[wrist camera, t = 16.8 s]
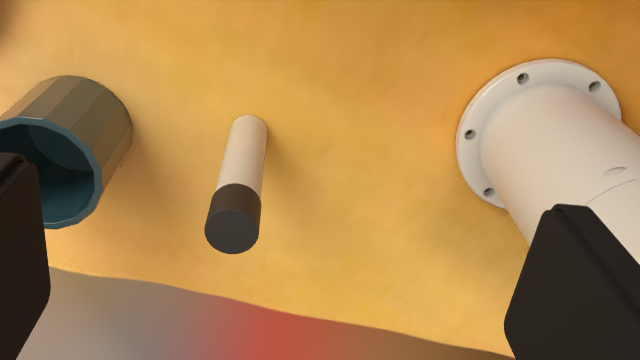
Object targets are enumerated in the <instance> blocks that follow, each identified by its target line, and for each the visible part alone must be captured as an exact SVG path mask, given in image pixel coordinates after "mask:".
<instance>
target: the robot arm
mask: <svg viewBox="0 0 640 360" xmlns="http://www.w3.org/2000/svg"><path fill="white" fill-rule="evenodd" d="M520 74H522V76H521V77H520V78H518V76H519V75H520ZM591 83H592V84H591ZM590 84H591V85H590ZM468 130H470V132H468V133H466V132H467V131H468ZM455 151H456V160H457V163H458V166H459V169H460V172H461V174H462V176H463V177H464V179H465V181H466V183H467V184H468V185H469V187H470V188H471V189H472V190H473V192H474V193H475V194H476V195H478V196H479V197H480V198H481V199H483V200H484V201H486V202H488V203H490V204H492V205H494V206H496V207H499V208H503V209H506V210H507V211H508V213H509V214H510V216H511V218H512V219H513V221H514V222H515V224H516V226H517V227H518V229H519V231H520V232H521V234H522V235H523V237H524V239H525V240H526V242H527V244H528V245H529V247H530V248H529V251H528V254H527V257H526V260H525V263H524V265H523V268H522V271H521V274H520V277H519V279H518V282H517V285H516V288H515V291H514V294H513V296H512V299H511V302H510V305H509V308H508V310H507V313H506V316H505V320H504V331H505V335H506V338H507V340H508V343H509V345H510V347H511V349H512V352H513V354H514V356H515V358H516V360H640V136H639V135H638V134H636V133H635V132H634V131H633V130H631V129H630V128H629V127H628V126H626V125H625V124H624V123H622V116H621V111H620V105H619V102H618V100H617V98H616V95H615V93H614V91H613V90H612V89H611V87H610V86H609V85H608V83H607V82H606V81H605V80H604V79H603V78H601V77H600V76H599V75H598V74H596V73H595V72H594V71H592V70H590V69H589V68H587V67H585V66H584V65H581V64H578V63H575V62H572V61H569V60H562V59H553V58H552V59H539V60H534V61H530V62H526V63H522V64H519V65H517V66H515V67H512V68H510V69H508V70H506V71H504V72H502V73H501V74H499V75H498V76H496V77H495V78H493V79H492V80H490V81H489V82H488V83H487V84H486V85H485V86H484V87H483V88H482V89H481V90H480V91H478V93H477V94H476V95H475V96H474V98H473V99H472V100H471V102H470V103H469V104H468V106H467V108H466V110H465V112H464V114H463V115H462V117H461V120H460V123H459V126H458V129H457V133H456V142H455ZM50 288H51V286H50V275H49V266H48V258H47V249H46V241H45V232H44V223H43V215H42V206H41V198H40V189H39V180H38V172H37V168H36V166H35V165H34V164H33V163H27V160H26V158H25V157H24V156H23V155H22V154H13V153H2V152H0V360H16V358H17V356H18V355H19V353H20V351H21V349H22V347H23V346H24V344H25V342H26V341H27V339H28V337H29V335H30V333H31V332H32V330H33V328H34V326H35V325H36V322H37V321H38V319H39V318H40V316H41V314H42V312H43V310H44V309H45V307H46V305H47V303H48V300H49V296H50Z"/></svg>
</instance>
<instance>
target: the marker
mask: <svg viewBox="0 0 640 360" xmlns="http://www.w3.org/2000/svg"><path fill="white" fill-rule="evenodd" d="M266 140H267V128H266V125H265V124H264V122H263V121H262V120H261V119H260V118H258V117H256V116H253V115H243V116H240V117H238V118H237V119H236V120H235V121H234V122H233V123H232V126H231V129H230V133H229V137H228V141H227V145H226V150H225V154H224V158H223V162H222V166H221V170H220V174H219V178H218V182H217V187H216V191H215V193H214V195H213V197H212V200H211V204H210V208H209V212H208V216H207V220H206V224H205V236H206V239H207V241H208V242H209V244H210V245H211V246H212V247H214V248H215V249H216V250H218V251H220V252H223V253H227V254H238V253H242V252H245V251H247V250H249V249H250V248H251V247H252V246H253V245H254V244H255V243H256V241H257V239H258V235H259V225H260V215H261V201H260V198H261V189H262V179H263V169H264V159H265V150H266Z"/></svg>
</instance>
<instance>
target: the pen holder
mask: <svg viewBox="0 0 640 360" xmlns="http://www.w3.org/2000/svg"><path fill="white" fill-rule="evenodd" d="M131 141H132V125H131V121H130V118H129V115H128V113H127V111H126V109H125V107H124V106H123V104H122V103H121V101H120V100H119V99H118V98H117V97H116V96H115V95H114V94H113V93H112V92H111V91H110V90H108V89H107V88H105V87H104V86H102V85H100V84H99V83H97V82H95V81H92V80H90V79H86V78H83V77H77V76H59V77H54V78H51V79H48V80H46V81H44V82H42V83H39V84H38V85H37V86H36V87H35V88H34V89H32V90H31V91H30V92H29V93H28V94H27V95H25V96H24V97H23V98H22V99H21V100H19V101H18V102H17V103H16V104H15V105H14V106H12V107H11V108H10V109H9V110H8V111H7V112H5V113H4V114H3V115H2V116H1V117H0V152H2V153H13V154H22V155H23V156H24V157H25V158H26V160H27V163H33V164H34V165H35V166H36V168H37V172H38V180H39V189H40V198H41V206H42V215H43V223H44V229H60V228H63V227H67V226H71V225H75V224H78V223H79V222H81V221H82V220H83V219H85V218H86V217H87V216H88V215H90V214H91V213H92V212H93V211H94V210H95V209H96V207H97V205H98V204H99V202H100V200H101V199H102V197H103V195H104V193H105V192H106V190H107V188H108V186H109V185H110V183H111V181H112V180H113V178H114V176H115V174H116V173H117V171H118V169H119V168H120V166H121V164H122V162H123V161H124V159H125V156H126V154H127V152H128V150H129V148H130V145H131Z"/></svg>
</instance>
